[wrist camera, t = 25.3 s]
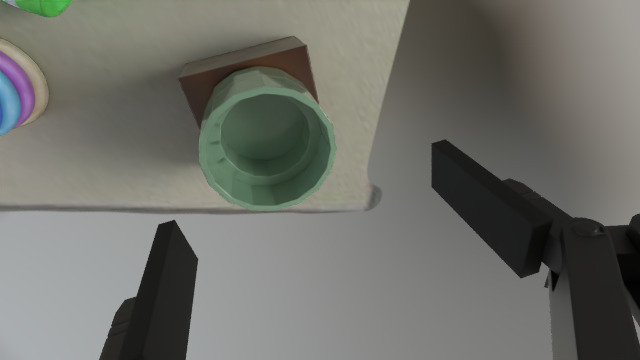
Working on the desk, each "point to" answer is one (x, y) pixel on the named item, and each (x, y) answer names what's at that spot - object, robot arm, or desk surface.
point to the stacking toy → (20, 88)
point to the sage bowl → (265, 140)
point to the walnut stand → (212, 71)
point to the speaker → (41, 6)
